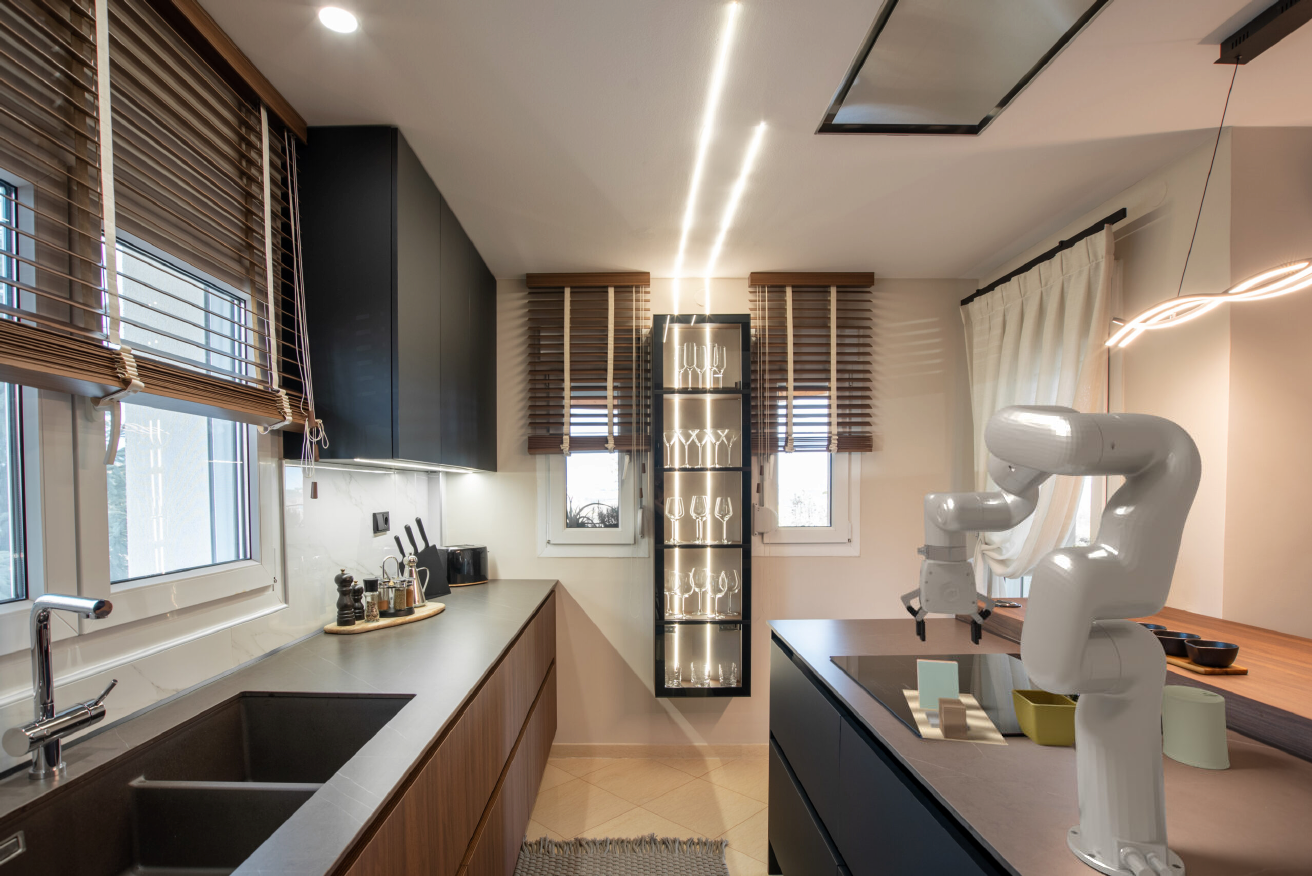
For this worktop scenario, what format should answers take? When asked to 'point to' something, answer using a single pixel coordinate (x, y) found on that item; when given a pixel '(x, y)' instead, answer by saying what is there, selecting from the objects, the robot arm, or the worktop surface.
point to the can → (1194, 727)
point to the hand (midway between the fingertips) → (948, 641)
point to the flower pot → (1045, 716)
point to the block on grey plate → (949, 719)
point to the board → (975, 717)
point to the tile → (936, 682)
